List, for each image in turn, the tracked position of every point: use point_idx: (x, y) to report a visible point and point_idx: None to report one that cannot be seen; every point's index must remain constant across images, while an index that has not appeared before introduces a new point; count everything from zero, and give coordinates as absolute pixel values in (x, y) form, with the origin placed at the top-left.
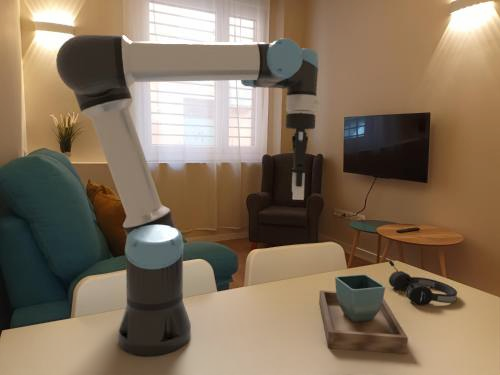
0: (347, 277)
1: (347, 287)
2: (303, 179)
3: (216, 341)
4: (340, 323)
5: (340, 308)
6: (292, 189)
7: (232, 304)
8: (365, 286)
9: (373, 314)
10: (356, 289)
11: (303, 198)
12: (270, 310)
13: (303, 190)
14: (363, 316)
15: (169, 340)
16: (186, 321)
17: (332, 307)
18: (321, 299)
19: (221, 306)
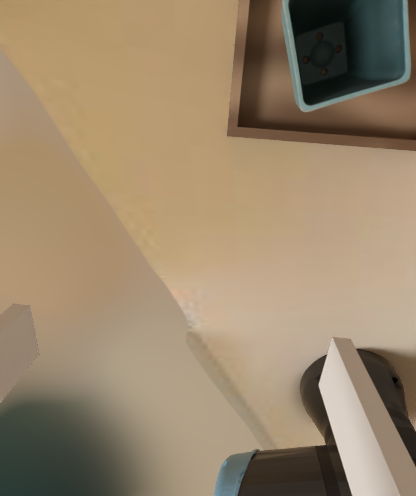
0: (298, 68)
1: (381, 89)
2: (411, 469)
3: (369, 317)
4: (349, 106)
5: (275, 89)
6: (30, 362)
7: (243, 300)
8: (292, 6)
9: (359, 14)
10: (407, 65)
11: (352, 345)
12: (267, 238)
13: (373, 386)
14: (360, 46)
15: (399, 379)
16: (370, 373)
17: (271, 109)
18: (275, 139)
19: (252, 316)
